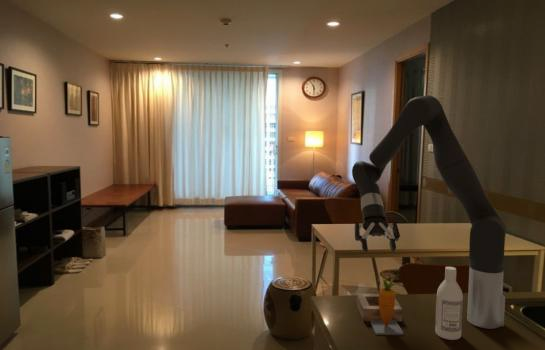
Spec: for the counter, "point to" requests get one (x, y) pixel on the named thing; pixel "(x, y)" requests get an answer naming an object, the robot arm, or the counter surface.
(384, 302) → the carrot
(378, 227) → the robot arm
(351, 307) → the counter surface
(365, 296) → the holder
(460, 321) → the bath foam
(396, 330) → the plate
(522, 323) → the counter surface
